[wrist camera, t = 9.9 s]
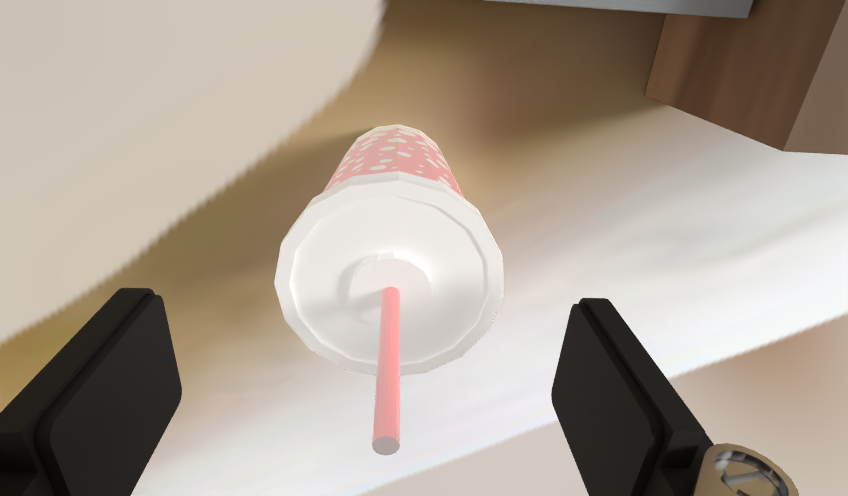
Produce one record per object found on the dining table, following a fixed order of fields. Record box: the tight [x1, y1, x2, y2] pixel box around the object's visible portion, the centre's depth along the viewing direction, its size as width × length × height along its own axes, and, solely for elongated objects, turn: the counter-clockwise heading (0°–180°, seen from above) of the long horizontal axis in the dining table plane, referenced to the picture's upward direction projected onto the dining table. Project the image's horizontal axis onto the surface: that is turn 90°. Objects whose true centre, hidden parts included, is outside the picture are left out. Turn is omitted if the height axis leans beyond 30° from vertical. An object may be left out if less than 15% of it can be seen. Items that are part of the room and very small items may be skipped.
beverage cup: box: [274, 124, 504, 455], centre depth 15 cm, size 6×6×14 cm
